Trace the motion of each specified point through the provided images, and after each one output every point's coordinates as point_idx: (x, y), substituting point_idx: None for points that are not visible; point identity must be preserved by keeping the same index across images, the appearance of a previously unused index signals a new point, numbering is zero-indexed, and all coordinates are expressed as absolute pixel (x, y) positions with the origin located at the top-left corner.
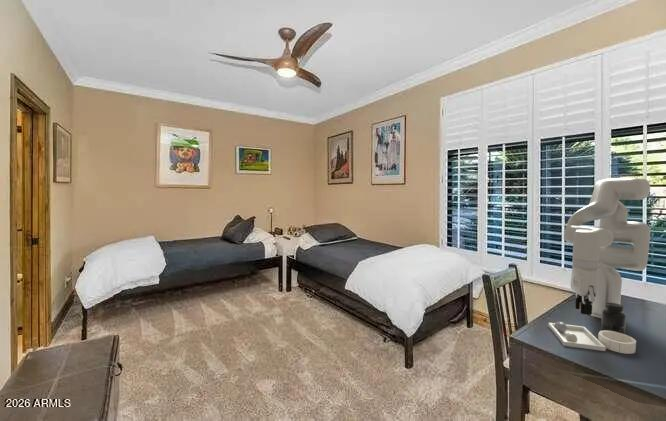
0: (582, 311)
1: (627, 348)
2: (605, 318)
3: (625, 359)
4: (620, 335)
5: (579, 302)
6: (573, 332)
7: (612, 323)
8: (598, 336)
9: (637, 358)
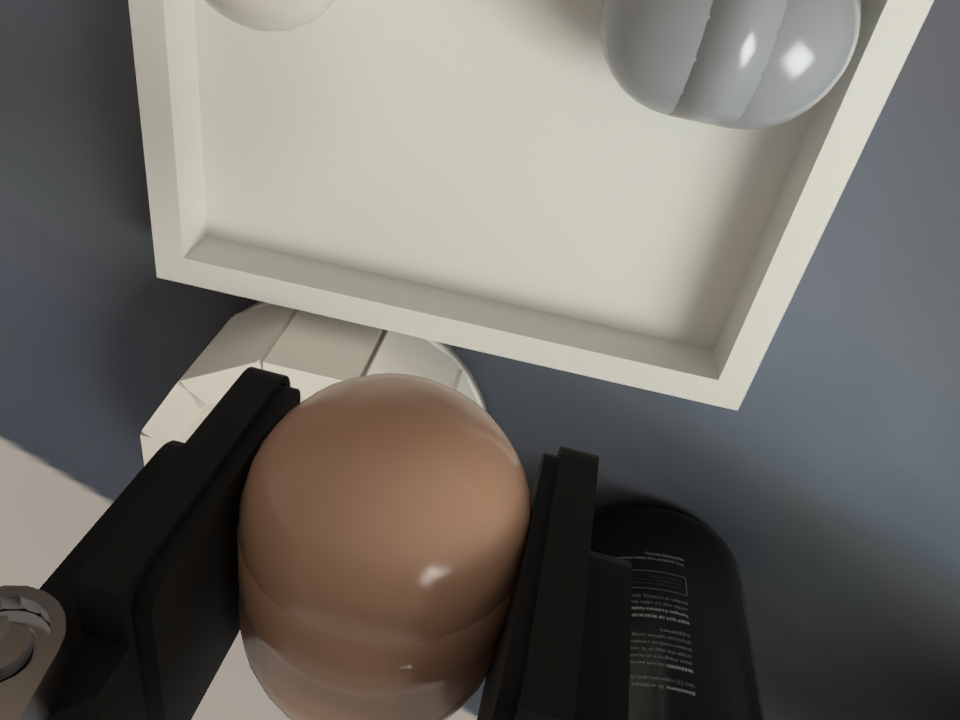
0: (223, 420)
1: None
2: None
3: (114, 336)
4: None
5: (402, 628)
6: (659, 194)
7: None
8: (362, 357)
9: None
